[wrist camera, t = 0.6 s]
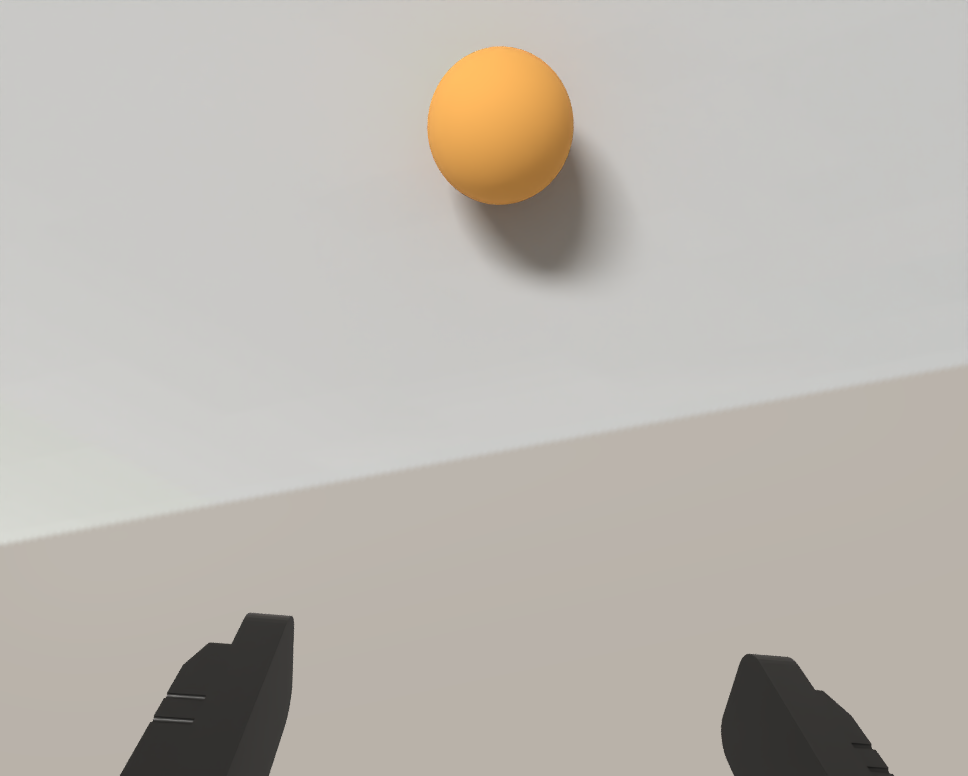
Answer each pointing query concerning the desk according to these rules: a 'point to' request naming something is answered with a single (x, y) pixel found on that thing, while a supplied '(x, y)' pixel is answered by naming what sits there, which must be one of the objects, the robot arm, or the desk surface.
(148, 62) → the desk surface
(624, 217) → the desk surface
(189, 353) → the desk surface
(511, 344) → the desk surface
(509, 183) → the ball
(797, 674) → the robot arm
